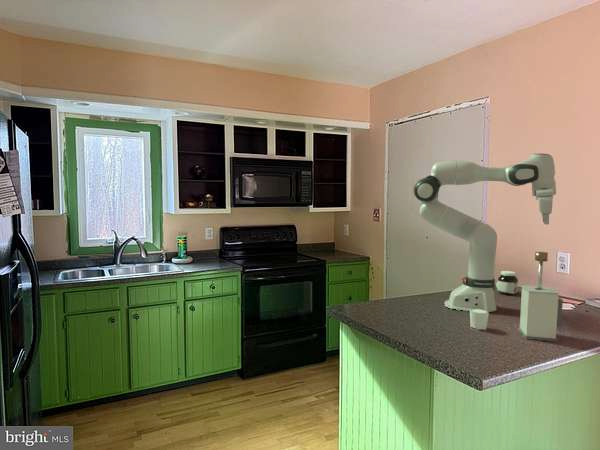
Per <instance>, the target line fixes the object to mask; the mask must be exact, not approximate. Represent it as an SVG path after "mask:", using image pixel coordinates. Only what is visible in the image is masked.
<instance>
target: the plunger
mask: <svg viewBox="0 0 600 450" xmlns="http://www.w3.org/2000/svg"><path fill="white" fill-rule="evenodd" d="M548 255H549V252H547V251H546V252H545V251H535V255H534V261H537V262H539V263H538V278H537V279H538V280H537V286H538V290H541V289H542V287H543V286H542V284H543V270H544V269H543V268H544V267H543V266H544V262H548V261H549V259H548V258H549V256H548Z"/></svg>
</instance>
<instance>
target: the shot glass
mask: <svg viewBox="0 0 600 450" xmlns="http://www.w3.org/2000/svg"><path fill="white" fill-rule="evenodd" d="M489 313H490V312H488V311H486V310H482V309H470V312H469V319H470V320H469V321H470V322H469V323H470V328H471V327H473V328H476V329H486V330H487V325H488V321H489V320H488V319H489Z"/></svg>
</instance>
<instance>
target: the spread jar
mask: <svg viewBox="0 0 600 450" xmlns="http://www.w3.org/2000/svg"><path fill="white" fill-rule="evenodd" d="M495 288H497V292H498V293H499V294H501V295H504V296H515V295H516V294H517V293H518V290H519V289H518V288H519V280H518V277H517V276H516V272H515V271H511V270H501V271H500V276H499V277H498V278H497V282H496V283H495Z"/></svg>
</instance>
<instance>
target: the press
mask: <svg viewBox="0 0 600 450" xmlns="http://www.w3.org/2000/svg"><path fill="white" fill-rule="evenodd" d="M559 293H560V292H558V291H557V290H555V289H553V288H552V287H551V286H542V289H541V290H538V285H523V284H522V285H521V300H520V301H521V302H520V315H519V316H520V319H519V320H520V321H519V327H518V331H519V333H520V332H521V333H522V334H521V333H520V334H521V336H522V337H523V336H524V337H525V338H528V339H527V340H531V339H537V340H536V341H542V340H547V341H546V342H553V341H556V342H555V343H558V338H557V329H558V328H557V327H561V328H562V322H563V321H562V319H563V305H564V304H563V303H564V301H563V299H562V298H559ZM524 337H523V338H524ZM525 338H524V339H525Z"/></svg>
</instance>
